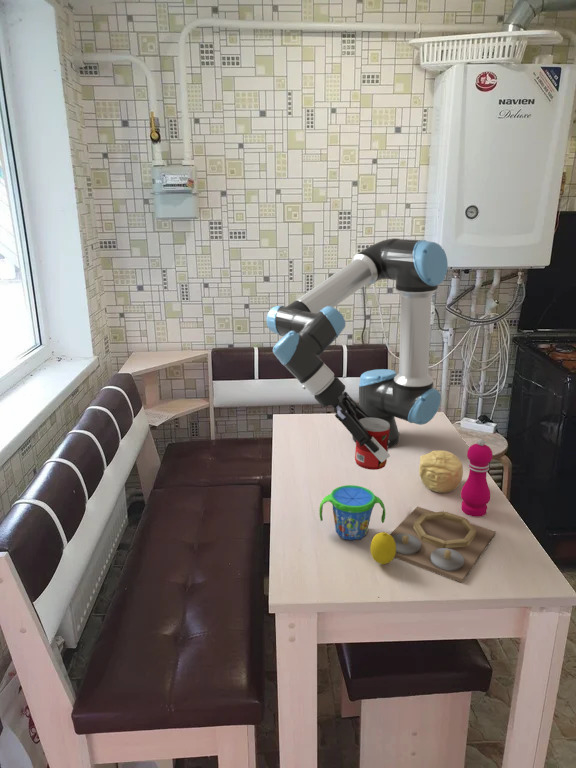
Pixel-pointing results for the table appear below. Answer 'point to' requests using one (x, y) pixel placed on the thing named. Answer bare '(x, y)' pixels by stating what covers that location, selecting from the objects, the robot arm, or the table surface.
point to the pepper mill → (477, 480)
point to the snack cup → (352, 510)
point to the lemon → (383, 548)
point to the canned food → (381, 434)
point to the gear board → (441, 542)
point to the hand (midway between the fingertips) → (385, 451)
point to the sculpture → (440, 471)
